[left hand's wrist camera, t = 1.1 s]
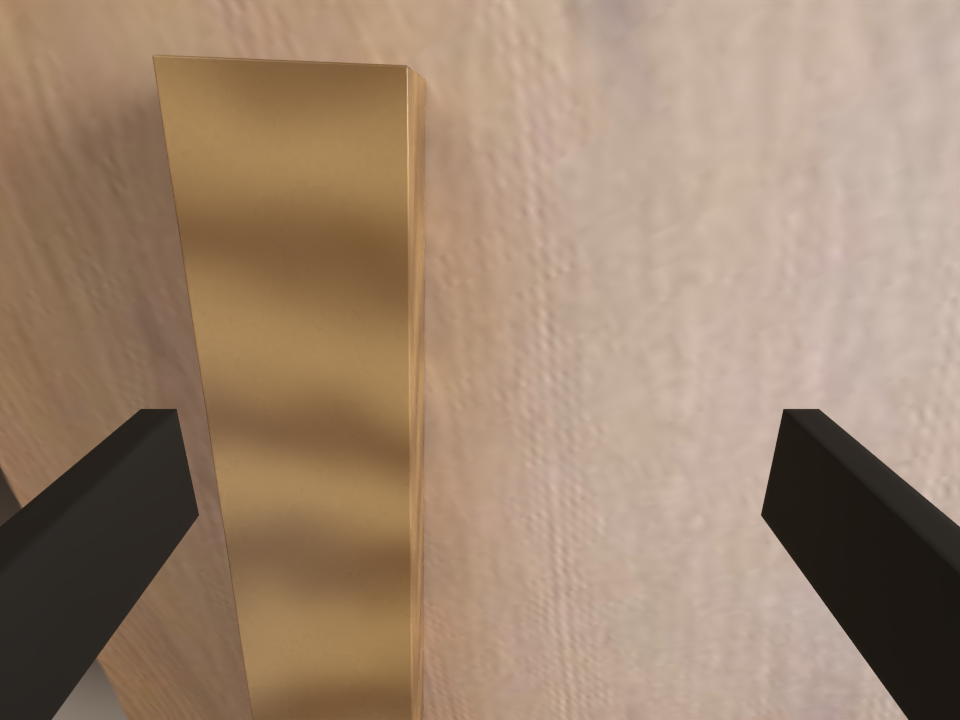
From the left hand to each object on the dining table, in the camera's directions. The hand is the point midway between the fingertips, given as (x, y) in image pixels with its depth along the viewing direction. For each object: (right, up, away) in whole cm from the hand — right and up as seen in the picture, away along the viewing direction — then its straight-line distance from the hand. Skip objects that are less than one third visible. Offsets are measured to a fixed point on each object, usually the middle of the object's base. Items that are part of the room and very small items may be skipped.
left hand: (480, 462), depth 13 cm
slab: (-8, -14, +25) cm, 30 cm away
